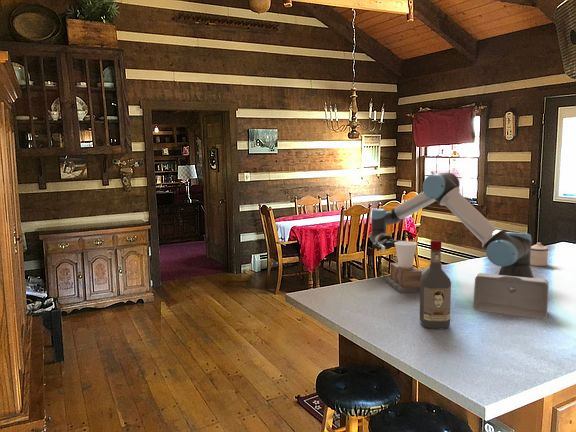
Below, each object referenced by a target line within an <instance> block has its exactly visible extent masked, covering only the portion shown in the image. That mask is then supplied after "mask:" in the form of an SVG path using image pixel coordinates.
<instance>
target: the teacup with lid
mask: <svg viewBox="0 0 576 432" xmlns="http://www.w3.org/2000/svg"><path fill="white" fill-rule="evenodd" d="M548 252H549V248H548V247H547V246H544V245H542V242H536V244H534V245H531V260H530V266H535V267H545V266H548V254H549V253H548Z"/></svg>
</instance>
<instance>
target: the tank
mask: <svg viewBox="0 0 576 432" xmlns="http://www.w3.org/2000/svg"><path fill="white" fill-rule="evenodd" d="M473 287H474V288H473V300H472V308H473V310H474V311H480V312H489V313H496V314H503V313H504V314H503V315H512V316H519V317H520V316H521V317H527V318H534V317H536V318H535V319H542V318H543V320H545V319H547V317H548V307H549V306H548V305H549V304H548V303H549V302H548V301H549V281H548V279H545V278H537V277H534V278H527V277H516V276H506V275H498V274H493V273H482V272H479V273H478V274H476V276H475V278H474V286H473ZM511 288H513V289H511Z"/></svg>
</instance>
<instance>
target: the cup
mask: <svg viewBox="0 0 576 432" xmlns="http://www.w3.org/2000/svg"><path fill="white" fill-rule="evenodd" d="M394 244H395V247H396V248H395V247H394V248H395V253H396V258H397V263H398V266H399V267H400V268H411V267H412V266H413V265H414V259H415V255H416V247H417V245H418V243H417V242H415V241H411V240H410V241H409V240H408V241H407V240H402V241H399V242H395V243H394Z"/></svg>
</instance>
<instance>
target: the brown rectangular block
mask: <svg viewBox="0 0 576 432" xmlns="http://www.w3.org/2000/svg"><path fill="white" fill-rule="evenodd" d="M422 275H423V271H422V270H421V269H419V268H418V267H415V266H412V267H411V268H400V267H399V266H398V262H390V277H386V278H385V279H386V280H385V281H386V283H387V284H389V286H390V287H392V288H393V289H395V291H397V292H398V293H412V292H413V293H414V292H415V293H416V292H419V293H420V278H421V276H422Z"/></svg>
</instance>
